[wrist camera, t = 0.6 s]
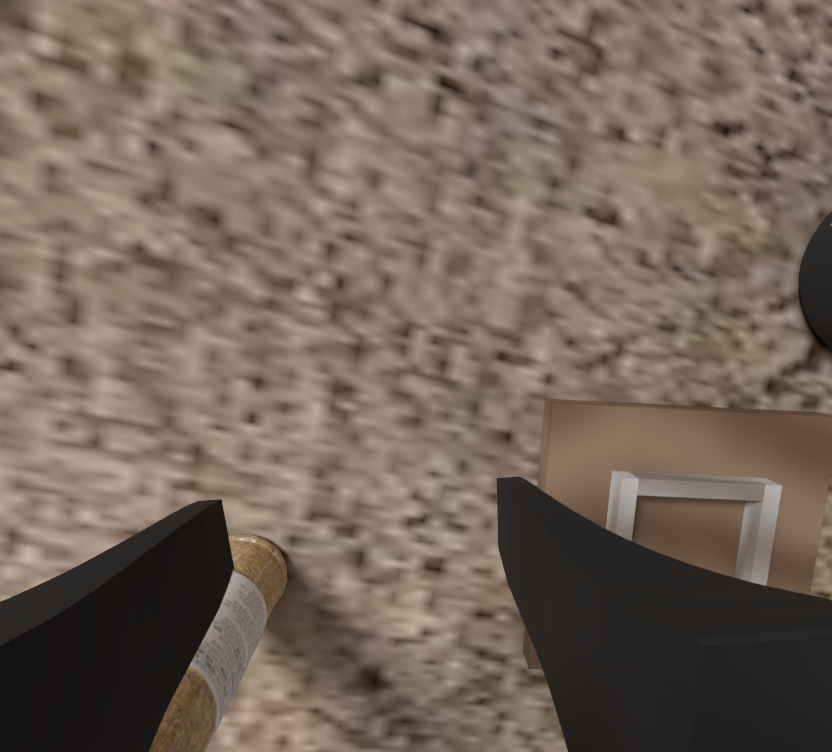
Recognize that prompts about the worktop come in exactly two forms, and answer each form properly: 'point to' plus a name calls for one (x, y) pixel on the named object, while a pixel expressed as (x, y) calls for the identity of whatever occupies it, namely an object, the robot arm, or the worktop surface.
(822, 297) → the pen holder
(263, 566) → the sprinkles bottle
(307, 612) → the worktop surface
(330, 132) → the worktop surface
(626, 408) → the walnut board
